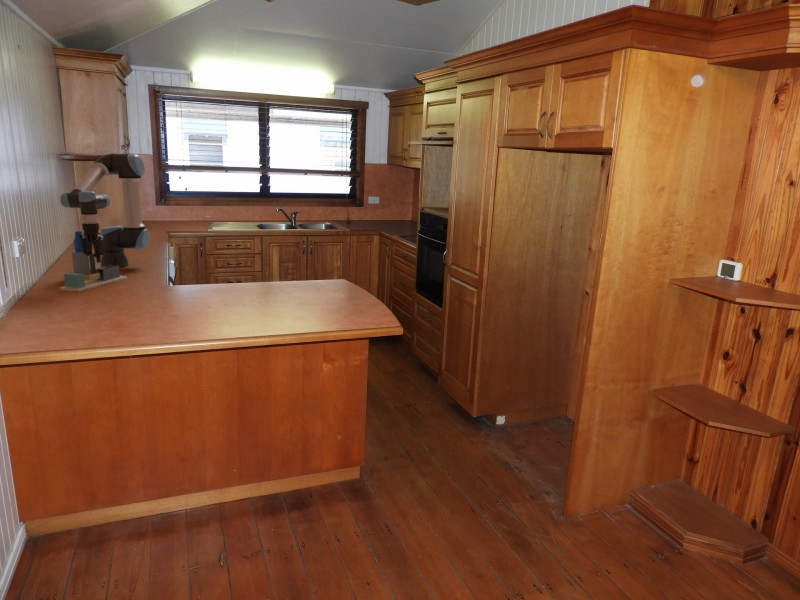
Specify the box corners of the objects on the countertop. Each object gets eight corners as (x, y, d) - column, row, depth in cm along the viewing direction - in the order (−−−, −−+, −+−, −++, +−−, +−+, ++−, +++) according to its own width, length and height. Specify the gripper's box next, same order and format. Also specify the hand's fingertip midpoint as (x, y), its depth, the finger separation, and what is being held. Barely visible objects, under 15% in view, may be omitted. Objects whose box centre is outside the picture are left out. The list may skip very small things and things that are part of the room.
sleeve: (110, 275, 304) (109, 264, 302) (120, 276, 302) (118, 265, 301) (94, 279, 294) (93, 268, 292) (104, 280, 292) (103, 269, 290)
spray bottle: (96, 276, 307) (91, 230, 301) (87, 279, 298) (82, 232, 292) (80, 275, 307) (75, 229, 301) (71, 279, 299) (65, 232, 292)
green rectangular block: (72, 285, 281) (70, 272, 280) (85, 286, 279) (83, 273, 277) (65, 286, 278) (63, 274, 276) (78, 288, 275) (77, 275, 274)
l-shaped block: (112, 273, 303) (109, 249, 299) (116, 273, 302) (114, 249, 298) (84, 280, 285) (81, 255, 282) (89, 281, 285) (86, 255, 281)
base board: (109, 276, 307) (109, 274, 306) (127, 278, 304) (127, 276, 303) (59, 289, 277) (59, 287, 277) (79, 291, 274) (79, 289, 274)
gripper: (71, 222, 282) (76, 268, 288) (97, 224, 278) (102, 271, 284) (83, 220, 289) (88, 265, 295) (109, 222, 285) (113, 268, 291)
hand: (95, 268), depth 289 cm, fingers closed on l-shaped block, 3 cm apart
